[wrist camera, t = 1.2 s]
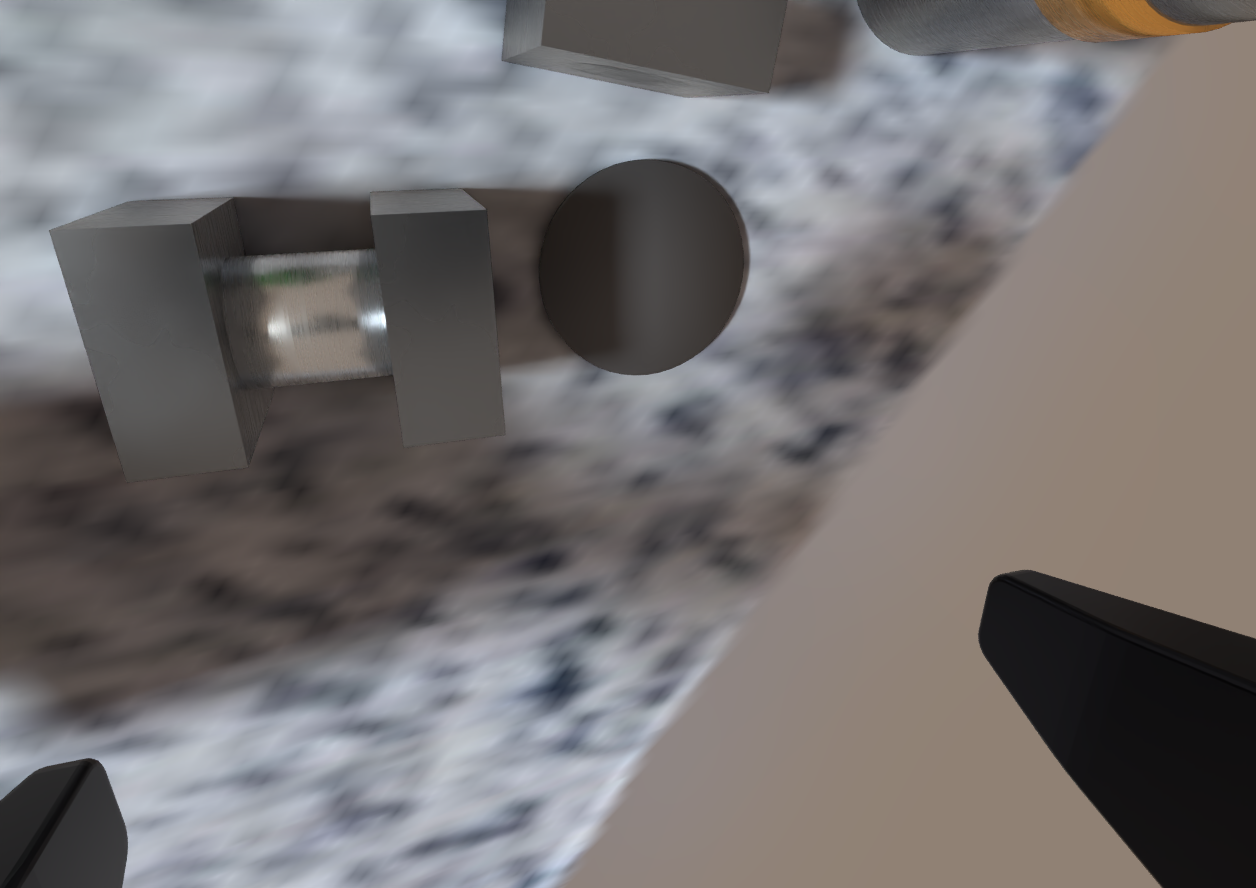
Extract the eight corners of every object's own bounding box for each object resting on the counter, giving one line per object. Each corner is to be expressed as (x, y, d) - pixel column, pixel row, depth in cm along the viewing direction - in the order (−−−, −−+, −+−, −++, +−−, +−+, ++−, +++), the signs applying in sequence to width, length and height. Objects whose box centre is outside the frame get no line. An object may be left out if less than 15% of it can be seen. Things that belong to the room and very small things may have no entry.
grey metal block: (180, 401, 18) (126, 483, 14) (127, 201, 16) (48, 230, 12) (478, 371, 19) (505, 435, 15) (460, 188, 18) (486, 209, 14)
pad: (545, 382, 20) (547, 385, 20) (532, 162, 18) (535, 163, 18) (734, 361, 21) (738, 364, 21) (743, 156, 19) (748, 156, 19)
